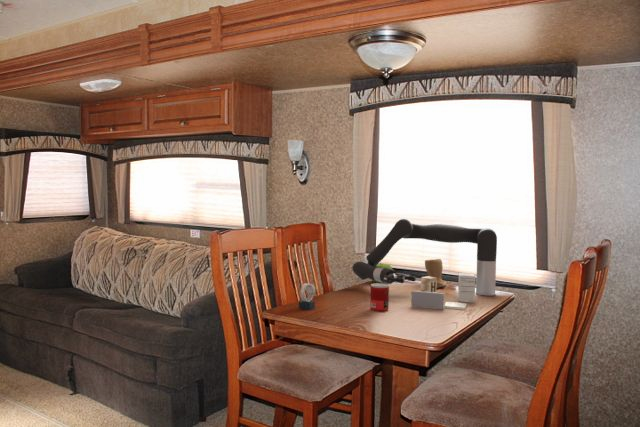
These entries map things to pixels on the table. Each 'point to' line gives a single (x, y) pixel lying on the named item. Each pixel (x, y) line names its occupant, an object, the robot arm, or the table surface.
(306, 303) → the snow globe
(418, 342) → the table surface
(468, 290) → the supplement box
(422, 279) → the marked block
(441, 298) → the screen
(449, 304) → the mat
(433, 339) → the table surface
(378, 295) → the canned food
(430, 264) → the tan boot
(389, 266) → the apple
